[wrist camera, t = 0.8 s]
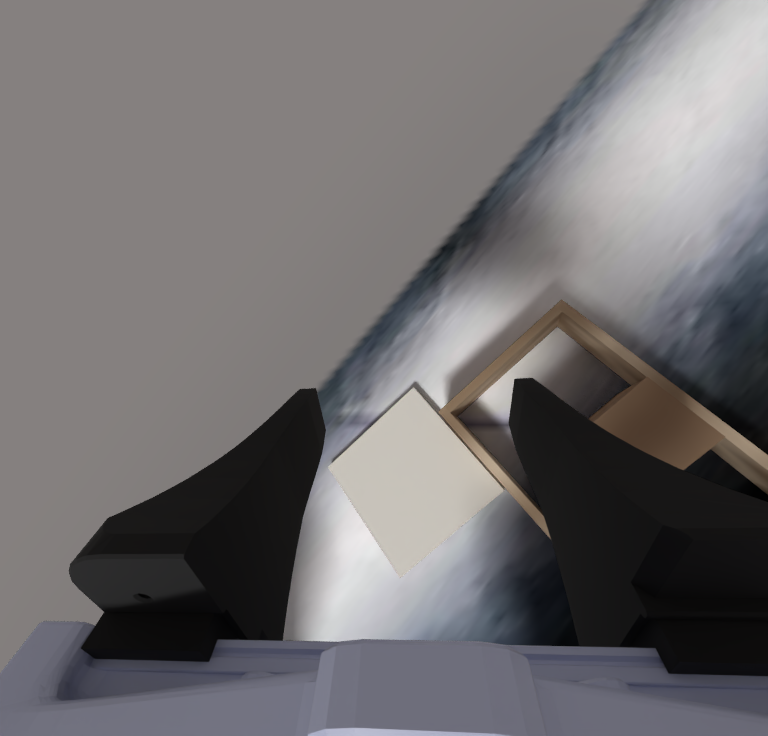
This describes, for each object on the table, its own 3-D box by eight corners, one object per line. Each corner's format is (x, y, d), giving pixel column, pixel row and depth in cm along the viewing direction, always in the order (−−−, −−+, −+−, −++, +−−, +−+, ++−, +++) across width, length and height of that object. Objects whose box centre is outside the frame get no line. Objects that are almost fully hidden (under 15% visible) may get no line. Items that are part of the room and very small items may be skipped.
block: (673, 440, 21) (725, 436, 16) (573, 521, 22) (590, 543, 17) (617, 394, 23) (647, 376, 17) (526, 471, 24) (527, 477, 18)
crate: (812, 516, 18) (864, 527, 16) (644, 638, 20) (664, 668, 17) (557, 315, 25) (561, 299, 23) (446, 415, 27) (438, 412, 24)
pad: (504, 489, 24) (504, 490, 23) (402, 575, 25) (400, 578, 25) (415, 388, 28) (413, 387, 28) (331, 466, 29) (327, 467, 29)
